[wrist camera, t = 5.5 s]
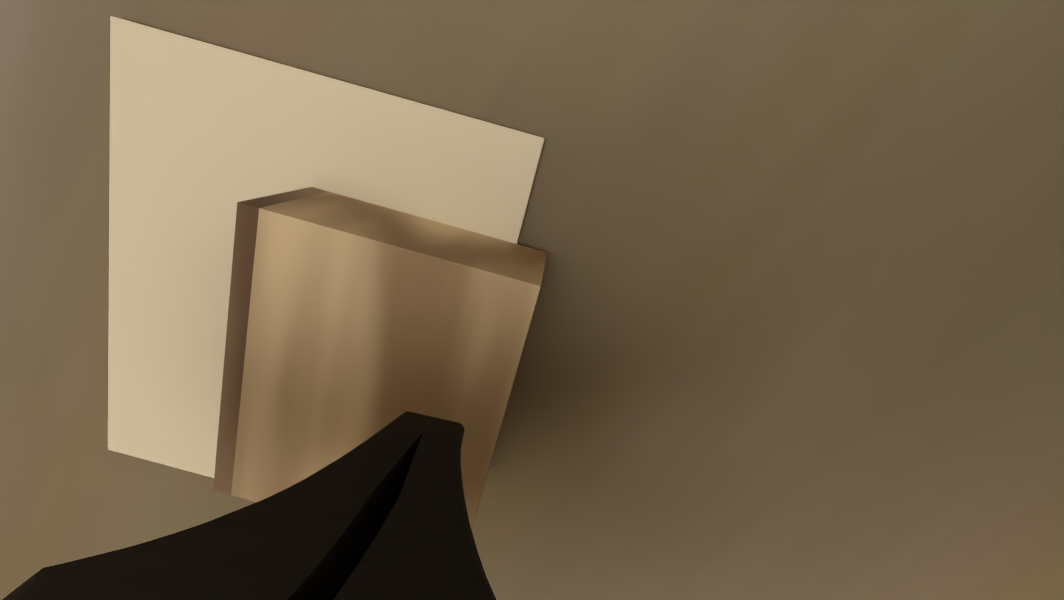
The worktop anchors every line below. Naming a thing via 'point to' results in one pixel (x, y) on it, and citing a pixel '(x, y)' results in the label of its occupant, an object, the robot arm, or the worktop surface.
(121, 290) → the mat
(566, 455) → the worktop surface
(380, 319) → the oak slab
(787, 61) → the worktop surface
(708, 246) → the worktop surface
